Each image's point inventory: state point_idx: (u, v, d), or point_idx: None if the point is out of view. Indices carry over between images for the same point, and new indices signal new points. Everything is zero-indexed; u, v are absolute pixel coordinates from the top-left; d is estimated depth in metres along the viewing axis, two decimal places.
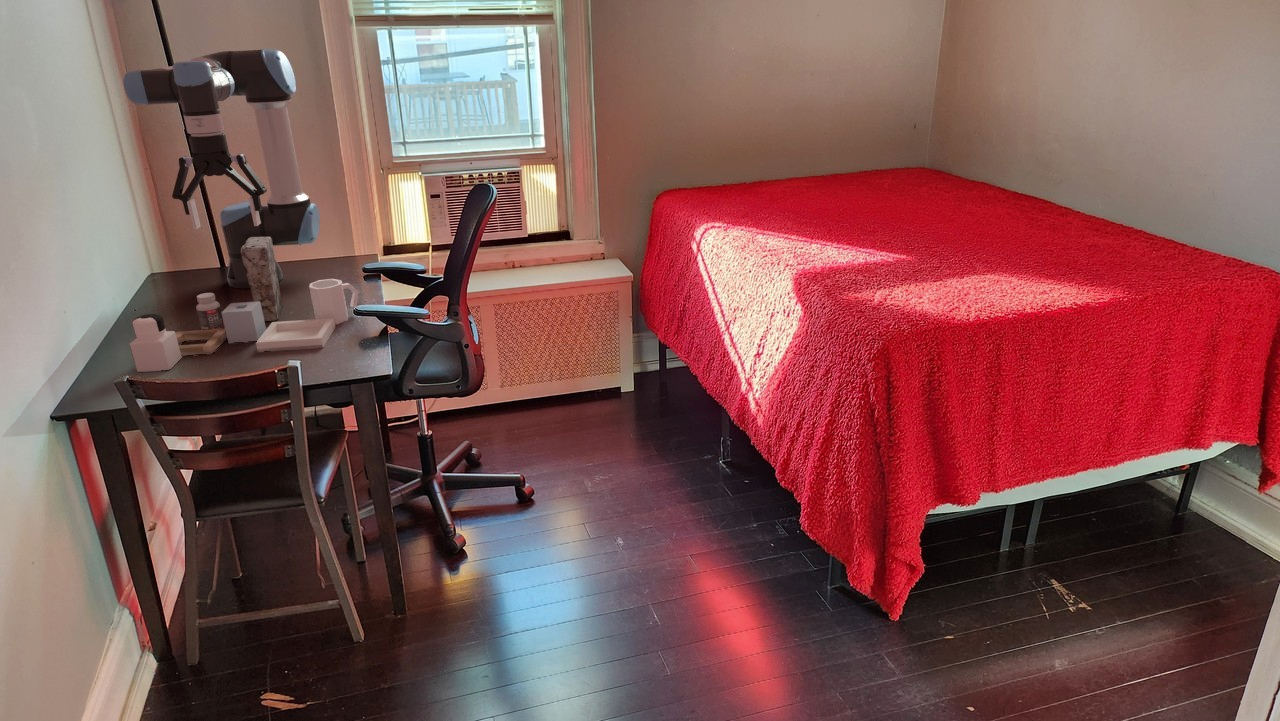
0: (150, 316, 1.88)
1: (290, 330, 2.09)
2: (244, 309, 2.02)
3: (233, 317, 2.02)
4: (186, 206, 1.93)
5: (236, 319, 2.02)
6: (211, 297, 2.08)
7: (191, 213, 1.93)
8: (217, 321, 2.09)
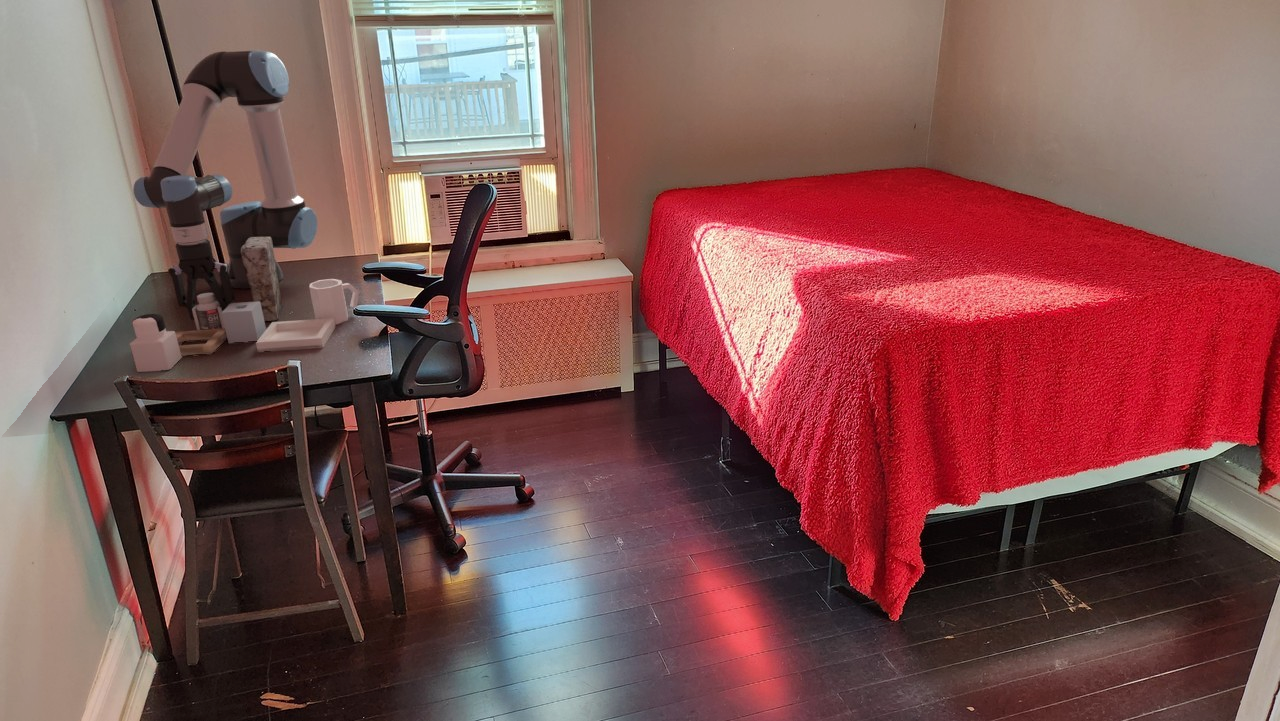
0: (150, 316, 1.88)
1: (290, 330, 2.09)
2: (244, 309, 2.02)
3: (233, 317, 2.02)
4: (191, 312, 2.09)
5: (236, 319, 2.02)
6: (211, 297, 2.08)
7: (196, 319, 2.09)
8: (217, 321, 2.09)
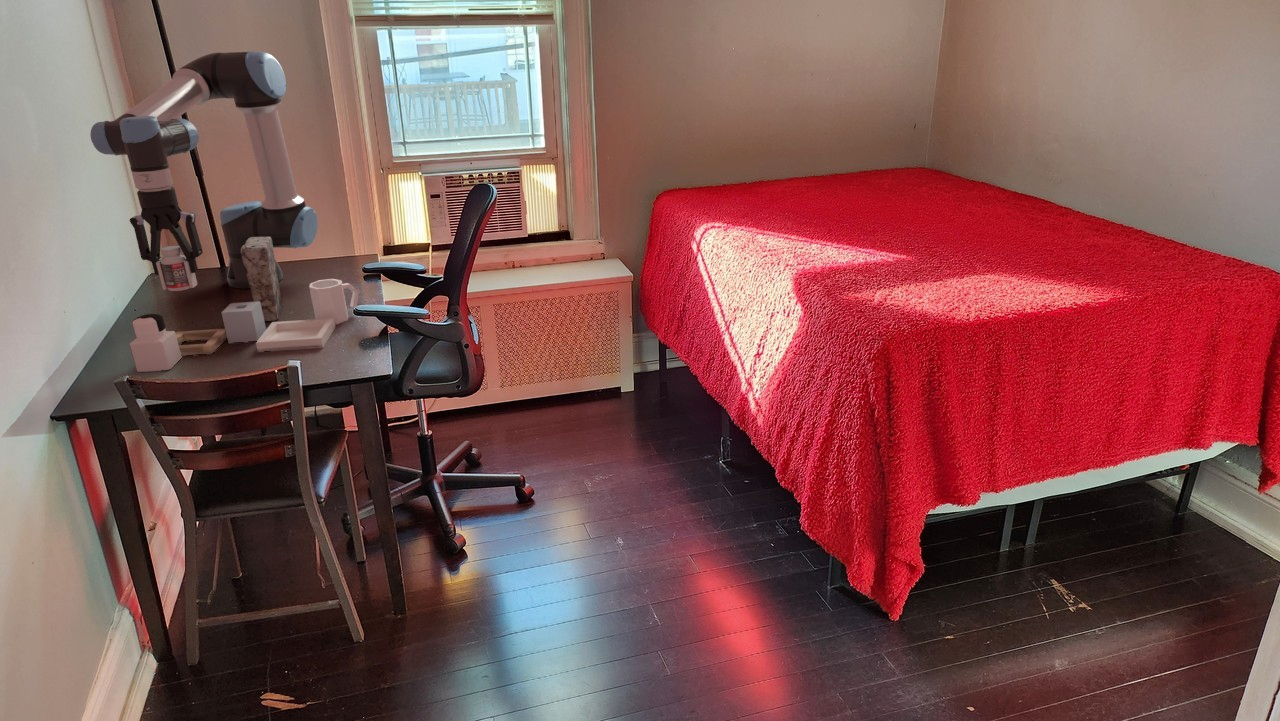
0: (150, 316, 1.88)
1: (290, 330, 2.09)
2: (244, 309, 2.02)
3: (233, 317, 2.02)
4: (155, 267, 1.94)
5: (236, 319, 2.02)
6: (177, 250, 1.92)
7: (160, 274, 1.94)
8: (183, 276, 1.94)
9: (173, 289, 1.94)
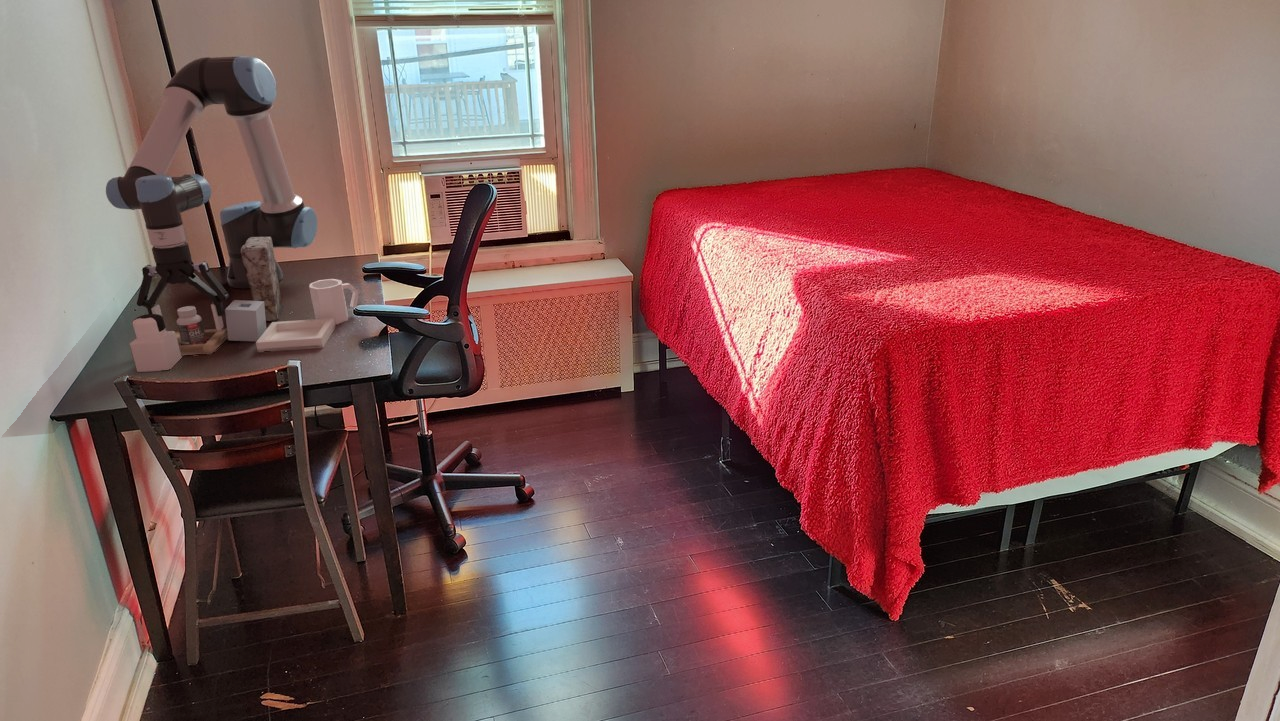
0: (150, 316, 1.88)
1: (290, 330, 2.09)
2: (248, 308, 2.03)
3: (236, 315, 2.02)
4: (151, 312, 1.98)
5: (239, 317, 2.02)
6: (192, 311, 1.98)
7: None
8: (198, 336, 2.00)
9: None
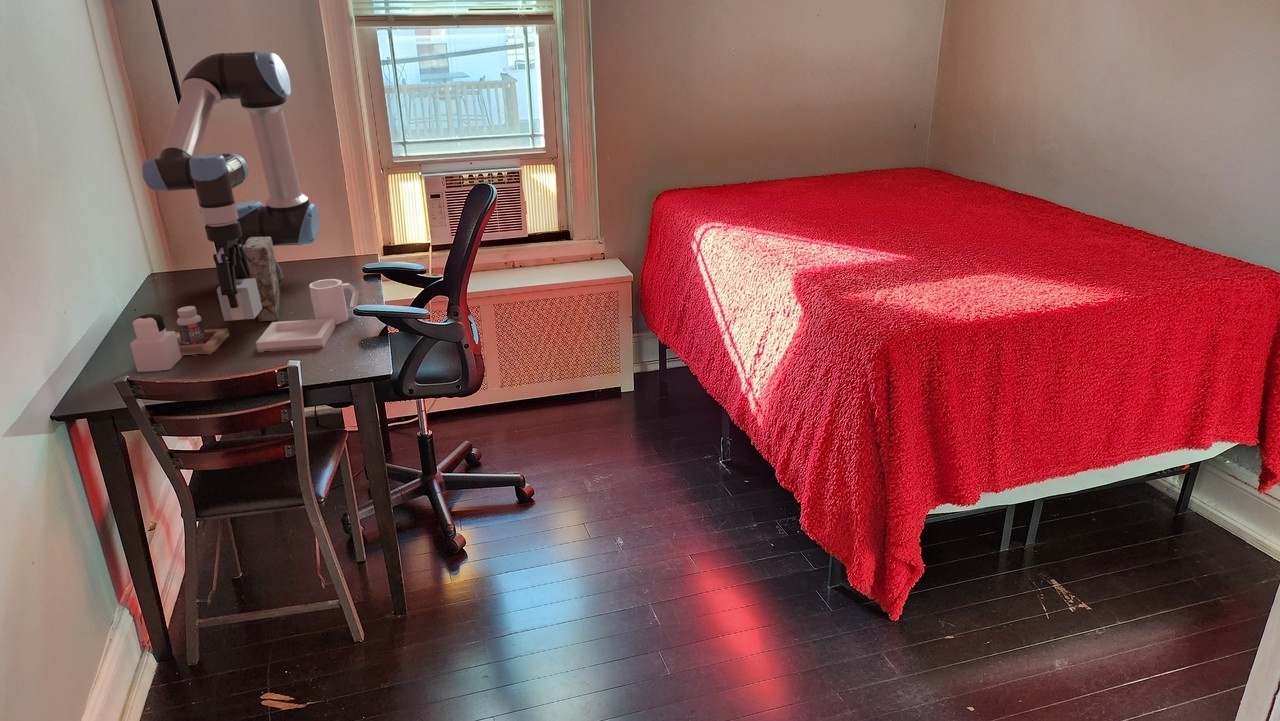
0: (150, 316, 1.88)
1: (290, 330, 2.09)
2: (239, 286, 2.01)
3: None
4: None
5: None
6: (192, 311, 1.98)
7: None
8: (198, 336, 2.00)
9: None
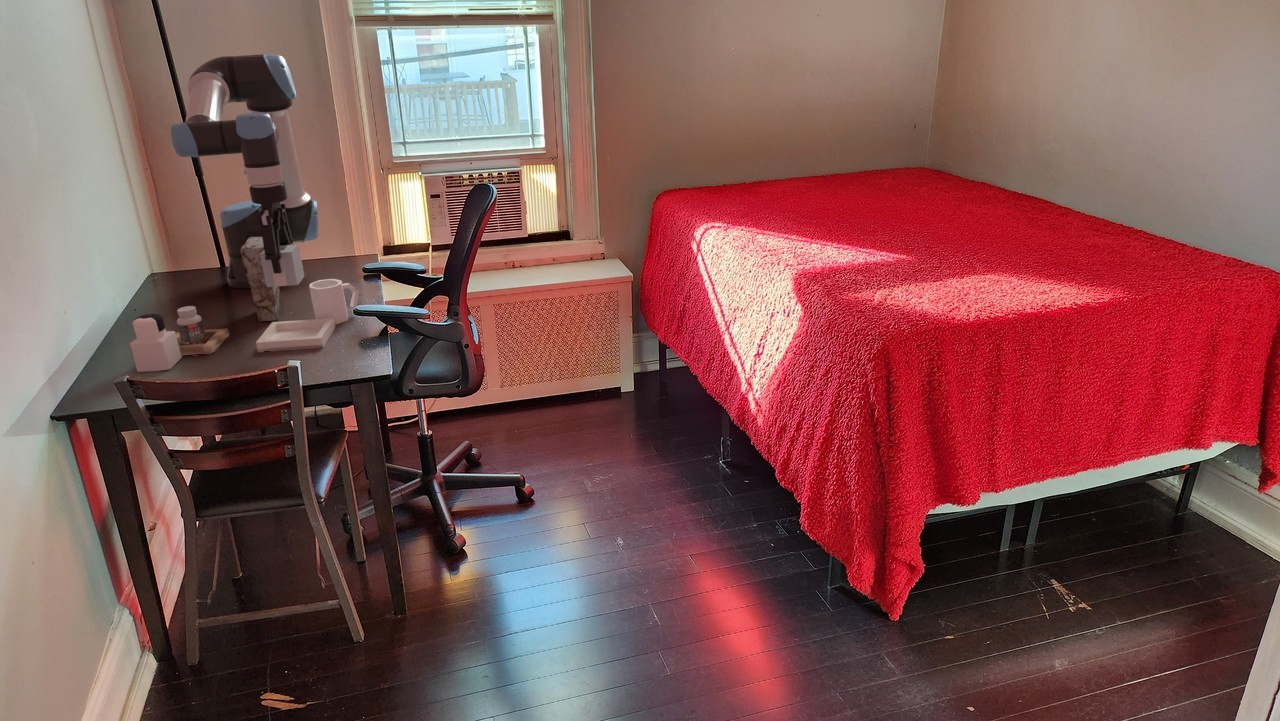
0: (150, 316, 1.88)
1: (290, 330, 2.09)
2: (283, 251, 1.94)
3: None
4: None
5: None
6: (192, 311, 1.98)
7: None
8: (198, 336, 2.00)
9: None
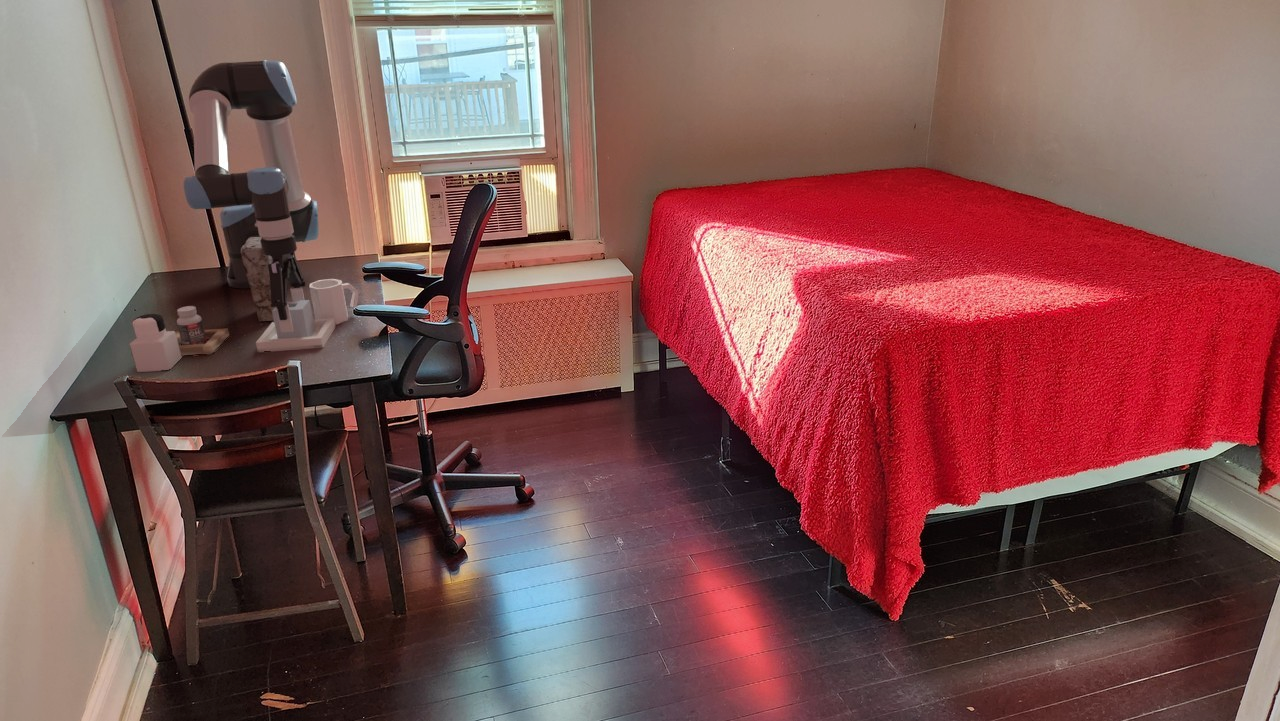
0: (150, 316, 1.88)
1: None
2: (295, 308, 2.00)
3: None
4: None
5: None
6: (192, 311, 1.98)
7: None
8: (198, 336, 2.00)
9: None
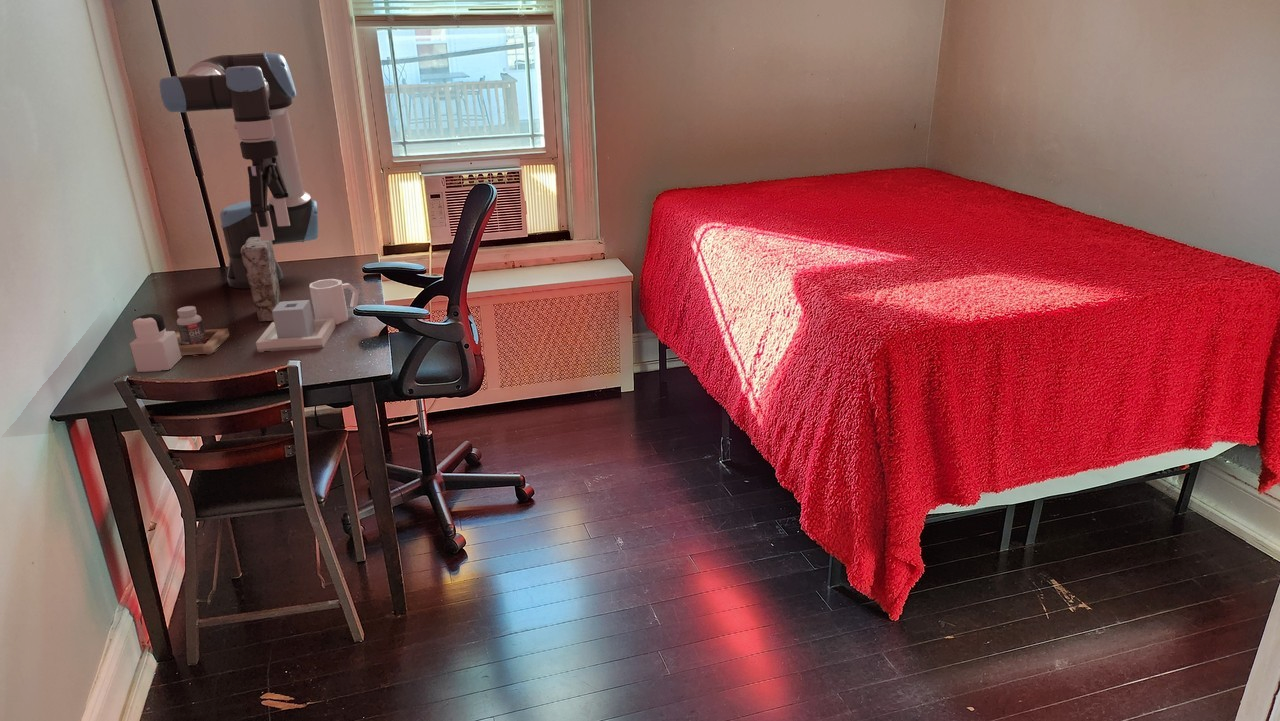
0: (150, 316, 1.88)
1: None
2: (295, 308, 2.00)
3: (284, 316, 1.99)
4: None
5: (287, 318, 1.99)
6: (192, 311, 1.98)
7: None
8: (198, 336, 2.00)
9: None
